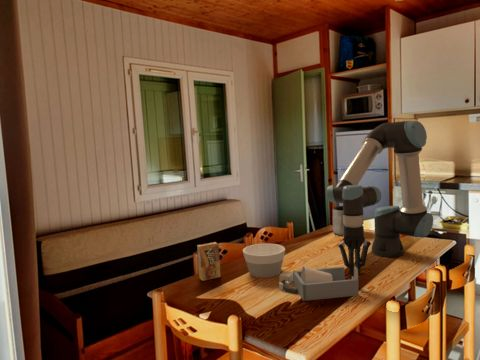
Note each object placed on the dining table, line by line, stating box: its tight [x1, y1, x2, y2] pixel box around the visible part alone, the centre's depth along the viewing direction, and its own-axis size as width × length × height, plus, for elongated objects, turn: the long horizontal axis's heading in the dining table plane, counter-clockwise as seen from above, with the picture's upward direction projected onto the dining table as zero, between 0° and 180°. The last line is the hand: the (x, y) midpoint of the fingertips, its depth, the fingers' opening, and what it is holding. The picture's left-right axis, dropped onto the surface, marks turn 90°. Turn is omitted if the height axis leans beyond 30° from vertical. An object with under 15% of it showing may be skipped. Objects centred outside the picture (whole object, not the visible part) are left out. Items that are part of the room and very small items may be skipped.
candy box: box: [196, 241, 221, 281], centre depth 171 cm, size 9×4×15 cm, turn 116°
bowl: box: [242, 243, 286, 279], centre depth 175 cm, size 19×19×11 cm
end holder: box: [292, 266, 360, 302], centre depth 151 cm, size 21×15×6 cm
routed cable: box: [281, 280, 298, 294], centre depth 156 cm, size 5×13×1 cm, turn 6°
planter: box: [332, 205, 344, 237], centre depth 234 cm, size 16×16×16 cm
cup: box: [301, 265, 333, 284], centre depth 152 cm, size 10×10×11 cm
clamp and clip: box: [278, 271, 293, 291], centre depth 160 cm, size 8×12×3 cm, turn 6°
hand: (355, 283), depth 153 cm, fingers closed
